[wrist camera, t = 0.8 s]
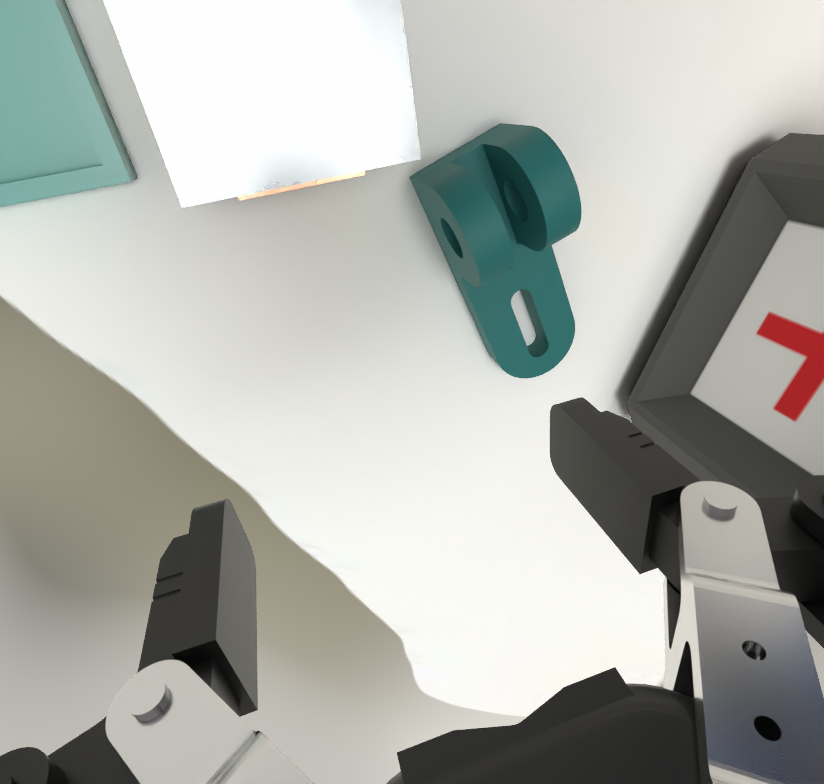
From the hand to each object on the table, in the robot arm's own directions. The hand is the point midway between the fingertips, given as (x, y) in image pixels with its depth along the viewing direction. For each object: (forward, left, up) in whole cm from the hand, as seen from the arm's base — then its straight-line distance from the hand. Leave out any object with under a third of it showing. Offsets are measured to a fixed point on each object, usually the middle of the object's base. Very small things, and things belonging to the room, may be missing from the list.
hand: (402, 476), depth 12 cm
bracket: (+5, +13, -25) cm, 28 cm away
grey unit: (-10, 0, -24) cm, 26 cm away
